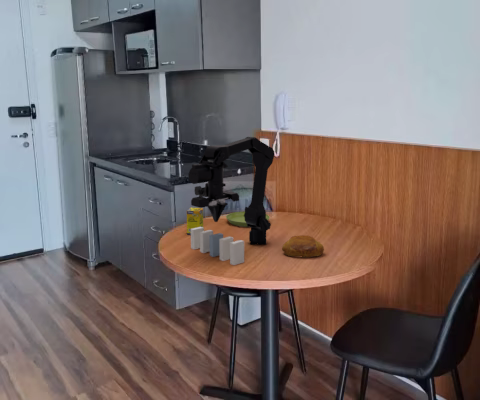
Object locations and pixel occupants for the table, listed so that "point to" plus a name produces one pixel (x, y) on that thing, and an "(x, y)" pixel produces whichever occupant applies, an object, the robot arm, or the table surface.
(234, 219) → the saucer
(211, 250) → the domino
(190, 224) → the supplement box
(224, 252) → the domino
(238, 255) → the domino
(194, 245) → the domino
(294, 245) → the croissant
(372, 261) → the table surface
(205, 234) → the domino
